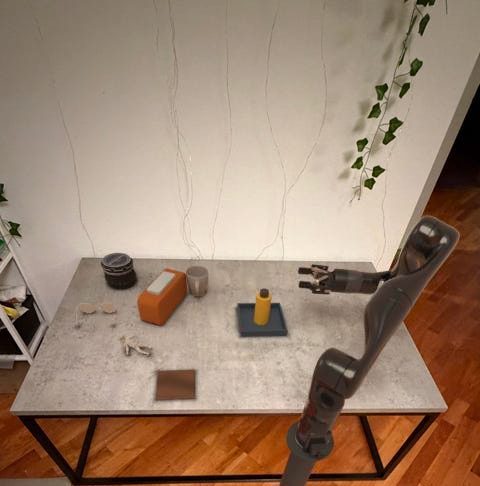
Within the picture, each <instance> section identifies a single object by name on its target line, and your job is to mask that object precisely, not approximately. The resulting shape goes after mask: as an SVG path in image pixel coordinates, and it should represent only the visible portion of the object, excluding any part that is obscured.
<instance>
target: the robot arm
mask: <svg viewBox="0 0 480 486" xmlns="http://www.w3.org/2000/svg"><path fill="white" fill-rule="evenodd" d="M460 236H461V233H460V232H459V230H458V229H457V228H455V227H454V226H452V225H450V224H448V223H446V222H444V221H443V220H440V219H439V218H437V217H435V216H433V215H428V214H427V215H424V216H422V217H421V218H420V219H419V220H418V221H417V222H416V223H415V224H414V226H413V227H412V228H411V230H410V231H409V233H408V234H407V236H406V238H405V239H404V241H403V244H402V246H401V250H400V252H399V255H398V258H397V260H396V261H397V262H396V263H395V264H394V266H393V268H392V269H389V270H383V271H375V272H370V271H361V270H357V269H356V270H355V269H346V268H334V269H333V271H329V266H328V265H324V264H323V265H322V264H315V263H312V264H311V266H310V267H304V266H303V267H302V266H299V267H298V270H297V274H298V275H303V276H304V275H305V276H311V277H312V278H313V280H314V281H307V280H299V281H298V289H306V290H309V291H311V294H312V295H326V296H327V295H330V294H331V293H337V294H338V293H339V294H349V295H350V294H351V295H352V294H359V295H360V294H361V295H372V296H371V297H370V299H369V300H368V302H367V303H366V304H365V307H364V310H363V318H362V319H363V320H362V321H363V334H364V335H363V336H364V339H363V340H364V341H363V342H364V343H363V351H362V355H361V357H360V358H359V359H358V358H355V357H354V356H351V355H349V354H348V353H346V352H344V351H342V350H340V349H338V348H335V347H329V348H327V349H326V350H325V351H323V353H322V354H321V355H320V356H319V358H318V360H317V362H316V364H315V366H314V369H313V372H312V376H311V381H310V383H309V384H310V385H309V388H308V391H307V398H306V401H305V404H304V405H303V406H304V407H303V410H302V412H301V415H300V418H299V420H298V421H299V425H298V428H297V430H296V433H295V441H296V443H297V445H298V446H299V447H300V448H301V449H302V450H303V452H304V453H309V452H310V454H311V455H316V457H317V458H318V459H320V457H321V455H325V454H326V452H327V450H328V448H327V444H328V442H329V440H330V438H331V436H332V435H333V432H332V431H333V429H334V427H335V425H336V423H337V422H338V419H339V417H340V415H341V413H342V411H343V409H344V407H345V403H346V400H349V399H352V397H353V396H355V395H356V393H357V392H358V391H359V389H360V388H361V386H362V385H363V383H364V382H365V380H366V378H367V376H368V375H369V374H370V372H371V370H372V368H373V367H374V365H375V363H376V362H377V360H378V358H379V357H380V355H381V353H382V352H383V350H384V348H386V345H387V344H388V343H389V342H390V340H391V339H392V337H393V335H394V334H395V333H396V332H397V330H398V329H399V328H400V326H401V324H402V323H403V322H404V321H405V319H406V318H407V316H408V315H409V314H410V312H411V310H412V308H414V305H415V304H416V302H417V301H418V299H419V297H420V296H421V294H422V293H423V291H424V289H425V288H426V287H427V285H428V284H429V283H430V281H431V280H432V278H433V277H434V276H435V274H437V272H438V271H439V269H440V268H441V267H442V265H444V263H445V262H446V260H447V259H448V258H449V256H450V255H451V254H452V252H453V251H454V249H455V248H456V246H457V244H459V243H458V242H459V240H460ZM420 262H421V263H423V264H422V265H421V263H420ZM380 282H383V283H382V284H380ZM379 284H380V285H379Z"/></svg>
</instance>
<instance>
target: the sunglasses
mask: <svg viewBox="0 0 480 486" xmlns="http://www.w3.org/2000/svg"><path fill="white" fill-rule="evenodd" d="M98 307H99V310H100V312H105V313H109V314H110V313H113V315H115V312H116V305H115V304H113V303H112V302H101V303H100V304H98ZM78 308H79V309H80V311H82V312H84V313H86V314H92V313H94V312H95V311H96V306H95V305H94V304H92V303H88V302H80V303H79V305H77V306H76V310H78ZM77 316H78V315H77V314H76V317H75V323H76V325H77V327H79V325H78V324H79V323H78V320H77V319H78V317H77ZM114 322H115V317H113V319H112V323H113V327H114V325H115V324H114Z"/></svg>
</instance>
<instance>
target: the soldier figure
mask: <svg viewBox="0 0 480 486" xmlns="http://www.w3.org/2000/svg"><path fill="white" fill-rule="evenodd" d="M137 335H138V334H137V333H134V334H132V335H127V336H125V334H121V335H119V337H118V339H119V340H120V341H123V345H124V347H125V350H126V355H127V356H128V355H130V354H129V351H130V348H132V349H134V350H135V351H136V352H137V353H138V354H141V355H143V354H144V355H146V356H147V357H148V356H150V355H151V354H150V352H147V351H144V350H142V349H141V348H149V350H153V347H152V346H150V345H148V344H146V343H144V342H139V341H136V340H135V339H134V338H135V337H137Z"/></svg>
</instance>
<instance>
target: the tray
mask: <svg viewBox="0 0 480 486" xmlns="http://www.w3.org/2000/svg"><path fill="white" fill-rule="evenodd" d="M255 304H256V302H237V304H236V310H237V311H236V312H237V319H238V325H239V332H240V337H241V338H244V337H245V338H246V337H251V338H252V337H287V334H288V328H287V324H286V319H285V317H284V312H283V309H282V305H281V302H271V305H270V312H269V319H268V323H267V324H265V325H258V324H256V323H255V322H254V314H255Z"/></svg>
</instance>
